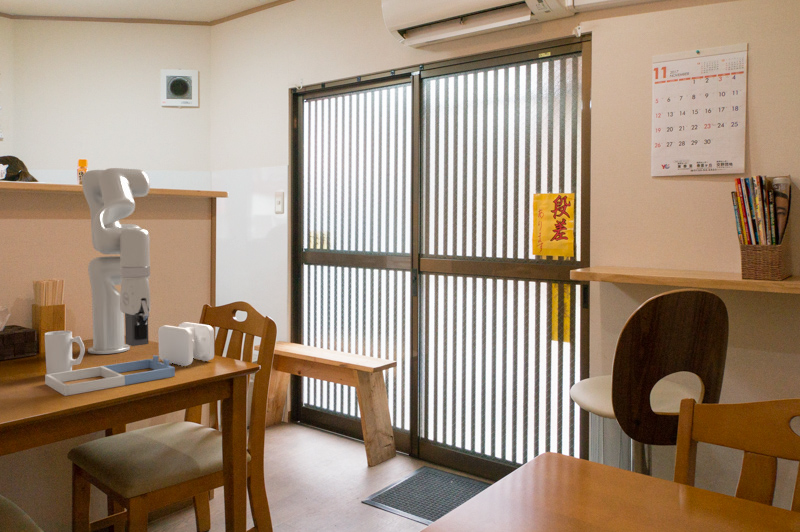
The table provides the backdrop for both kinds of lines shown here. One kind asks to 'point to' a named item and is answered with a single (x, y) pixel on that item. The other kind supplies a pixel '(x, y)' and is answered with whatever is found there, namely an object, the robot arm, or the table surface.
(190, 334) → the cable organizer
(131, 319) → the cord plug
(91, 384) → the shallow tray
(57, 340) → the mug
